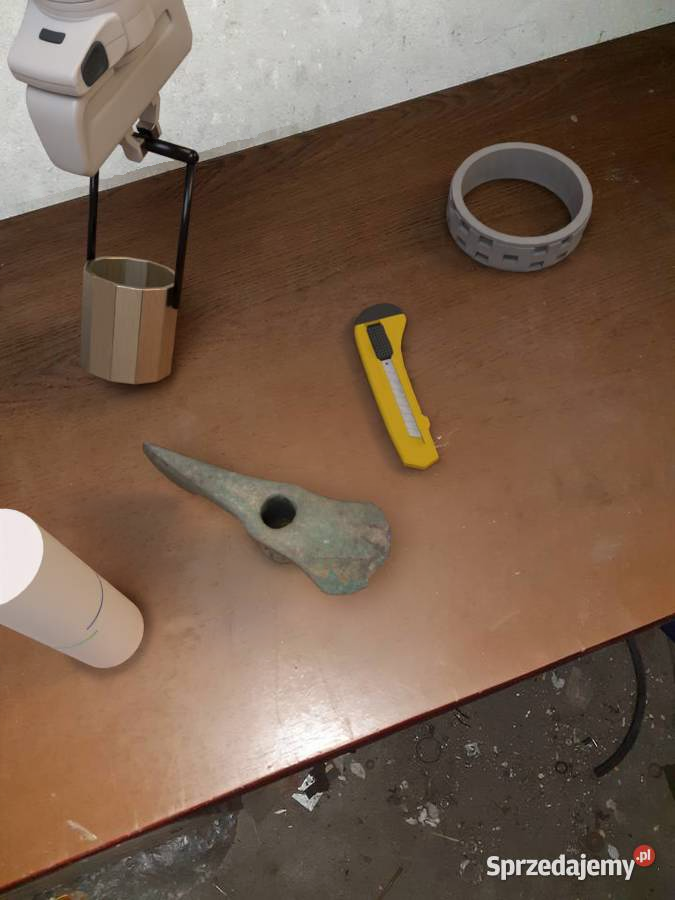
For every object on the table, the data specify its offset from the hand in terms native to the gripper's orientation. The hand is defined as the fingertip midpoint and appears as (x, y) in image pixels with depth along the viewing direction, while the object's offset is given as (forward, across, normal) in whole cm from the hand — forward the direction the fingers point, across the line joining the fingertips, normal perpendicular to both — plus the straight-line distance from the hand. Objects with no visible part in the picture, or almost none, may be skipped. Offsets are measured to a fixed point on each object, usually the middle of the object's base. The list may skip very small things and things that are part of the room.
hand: (144, 147), depth 69 cm
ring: (+23, -26, +35) cm, 49 cm away
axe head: (+22, +26, +23) cm, 41 cm away
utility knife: (+22, +4, +30) cm, 37 cm away
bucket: (+12, +3, 0) cm, 12 cm away
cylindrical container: (+22, +42, +12) cm, 49 cm away
